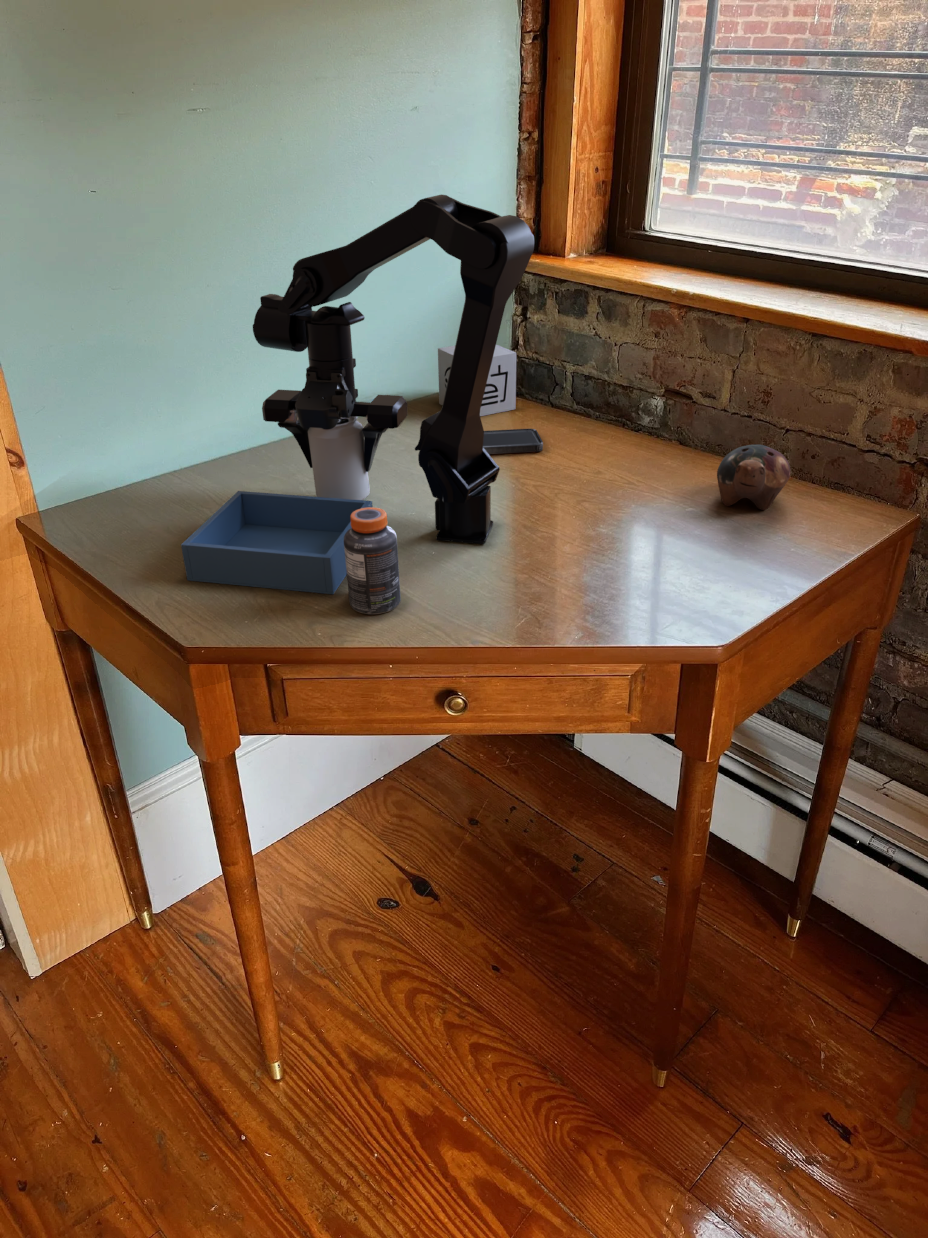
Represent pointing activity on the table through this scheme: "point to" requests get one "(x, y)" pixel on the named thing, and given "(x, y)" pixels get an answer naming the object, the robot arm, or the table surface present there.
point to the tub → (273, 542)
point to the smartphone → (512, 441)
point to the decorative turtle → (752, 475)
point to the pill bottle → (372, 562)
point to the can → (339, 460)
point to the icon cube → (498, 383)
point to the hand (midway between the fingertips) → (340, 468)
